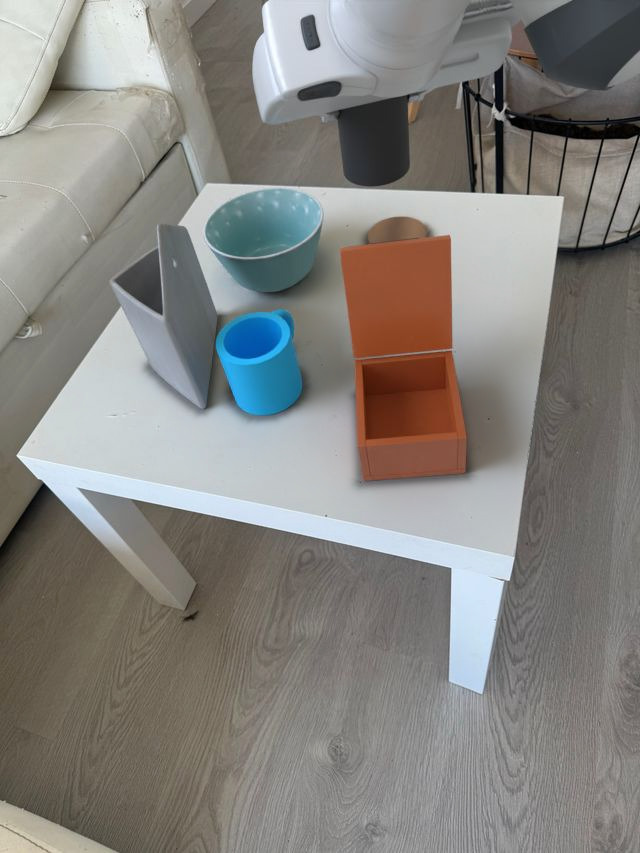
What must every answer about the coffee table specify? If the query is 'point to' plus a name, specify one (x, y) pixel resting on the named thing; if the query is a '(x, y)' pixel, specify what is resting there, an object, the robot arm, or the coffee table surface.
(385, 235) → the trivet
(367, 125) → the tapered grey cylinder
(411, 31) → the robot arm
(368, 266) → the orange box lid
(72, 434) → the coffee table surface
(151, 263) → the planter
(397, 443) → the orange open box
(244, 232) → the bowl
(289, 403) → the mug
